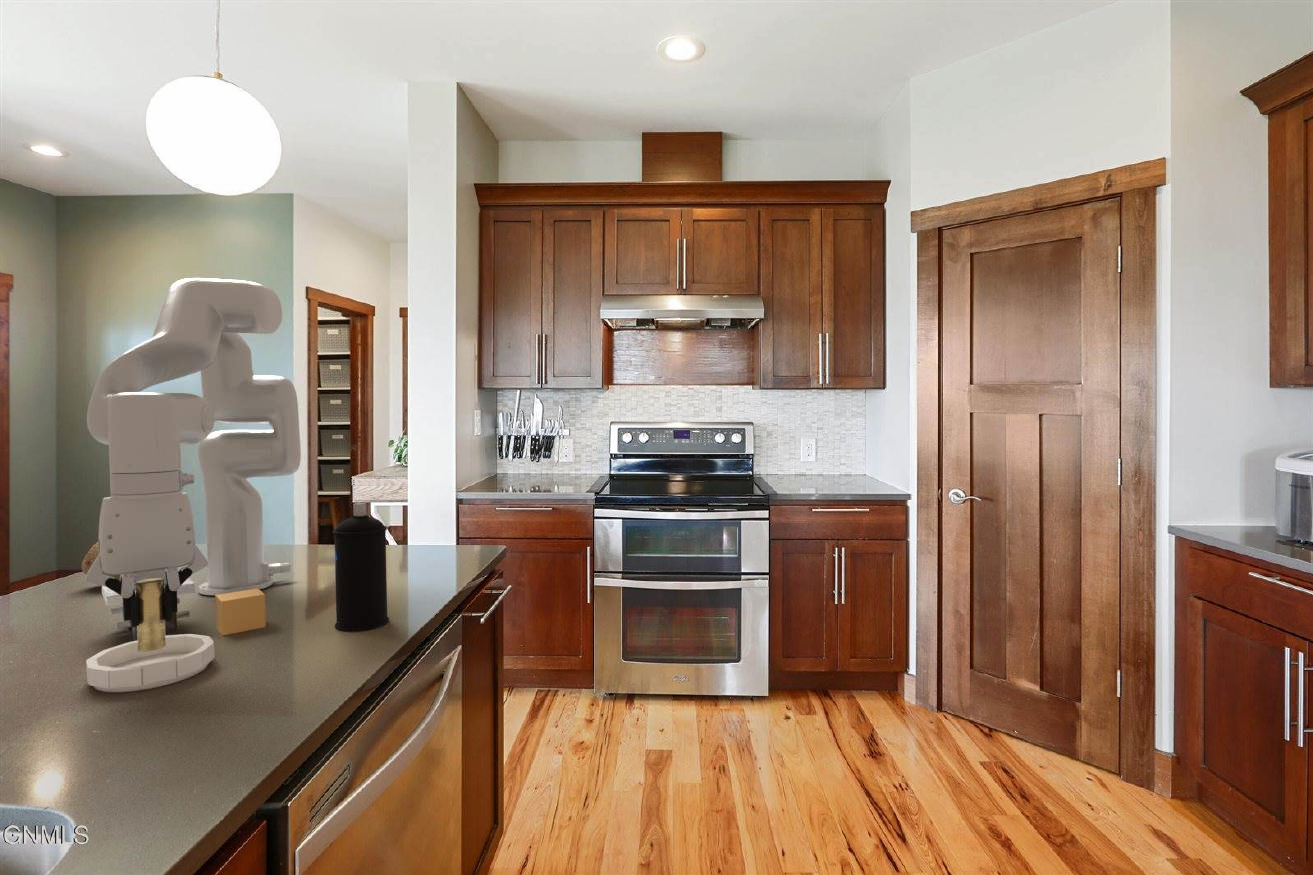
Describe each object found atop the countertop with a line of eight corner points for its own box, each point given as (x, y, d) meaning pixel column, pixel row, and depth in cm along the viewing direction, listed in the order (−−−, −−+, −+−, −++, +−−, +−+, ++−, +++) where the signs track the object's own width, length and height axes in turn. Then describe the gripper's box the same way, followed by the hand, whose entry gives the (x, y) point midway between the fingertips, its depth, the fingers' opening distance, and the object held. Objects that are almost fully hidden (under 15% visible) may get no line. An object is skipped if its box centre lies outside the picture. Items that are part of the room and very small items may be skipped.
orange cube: (258, 620, 113) (257, 588, 112) (265, 627, 109) (264, 594, 109) (216, 628, 109) (215, 595, 108) (222, 636, 105) (221, 601, 105)
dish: (203, 648, 99) (202, 628, 99) (222, 673, 89) (221, 651, 89) (84, 672, 90) (83, 650, 90) (91, 703, 80) (90, 679, 80)
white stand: (183, 613, 117) (182, 553, 116) (200, 635, 105) (198, 569, 105) (102, 627, 109) (100, 563, 109) (110, 652, 97) (108, 581, 97)
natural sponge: (77, 594, 129) (75, 543, 129) (89, 584, 137) (87, 535, 137) (136, 587, 134) (134, 538, 134) (144, 578, 142) (142, 531, 141)
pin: (164, 642, 91) (162, 577, 91) (167, 647, 89) (165, 581, 89) (136, 647, 89) (134, 580, 89) (139, 653, 87) (136, 585, 87)
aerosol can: (399, 618, 113) (397, 501, 112) (363, 634, 105) (361, 508, 104) (361, 614, 115) (358, 499, 115) (323, 629, 108) (320, 505, 107)
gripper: (213, 479, 97) (217, 604, 98) (63, 488, 86) (68, 629, 86) (224, 482, 92) (228, 615, 92) (65, 492, 80) (71, 643, 81)
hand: (151, 620), depth 89 cm, fingers closed on pin, 3 cm apart
